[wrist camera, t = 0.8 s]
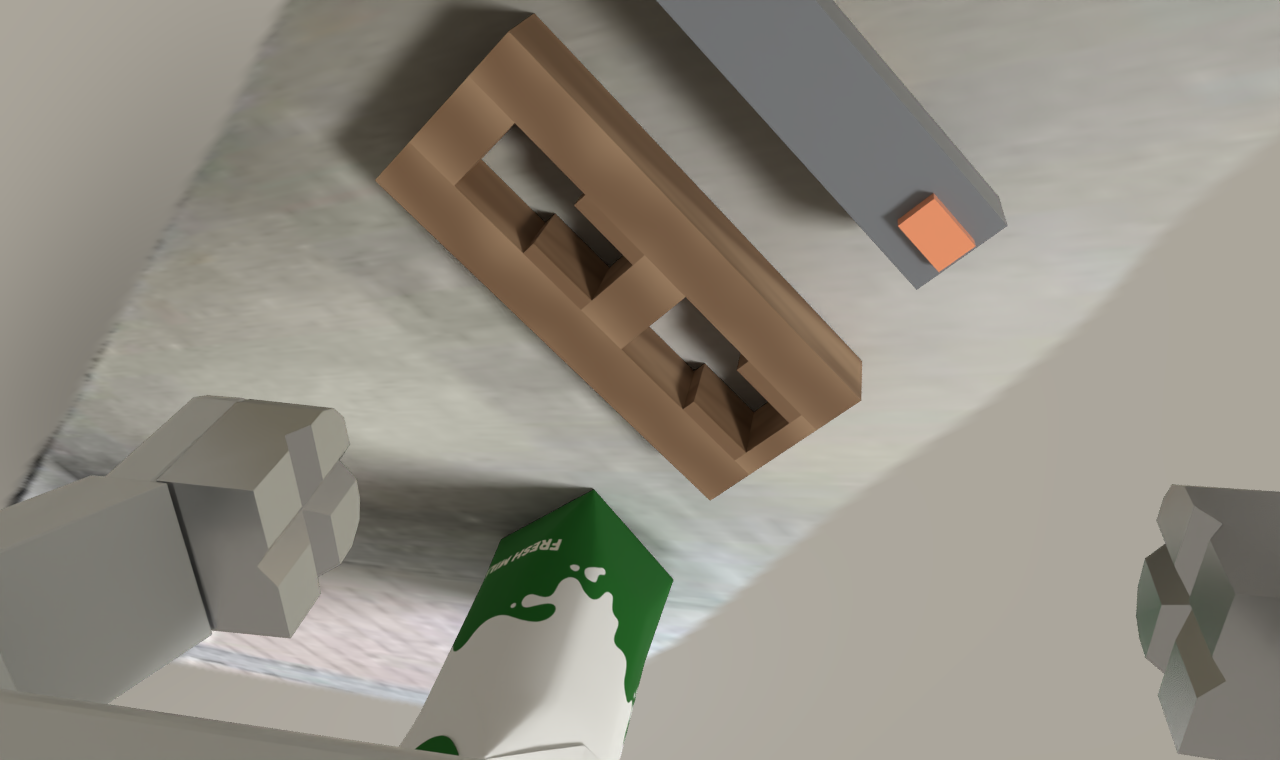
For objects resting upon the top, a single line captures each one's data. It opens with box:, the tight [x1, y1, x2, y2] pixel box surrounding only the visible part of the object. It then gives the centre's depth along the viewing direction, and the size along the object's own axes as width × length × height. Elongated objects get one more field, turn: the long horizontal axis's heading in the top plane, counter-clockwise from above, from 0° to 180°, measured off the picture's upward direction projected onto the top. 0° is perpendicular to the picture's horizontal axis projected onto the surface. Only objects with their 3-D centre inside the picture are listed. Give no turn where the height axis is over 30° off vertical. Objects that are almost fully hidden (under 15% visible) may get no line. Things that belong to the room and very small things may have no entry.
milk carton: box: [399, 490, 673, 760], centre depth 48 cm, size 9×9×20 cm
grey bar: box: [656, 0, 1007, 290], centre depth 38 cm, size 4×16×6 cm, turn 45°
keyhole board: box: [375, 13, 862, 500], centre depth 45 cm, size 9×21×4 cm, turn 45°
